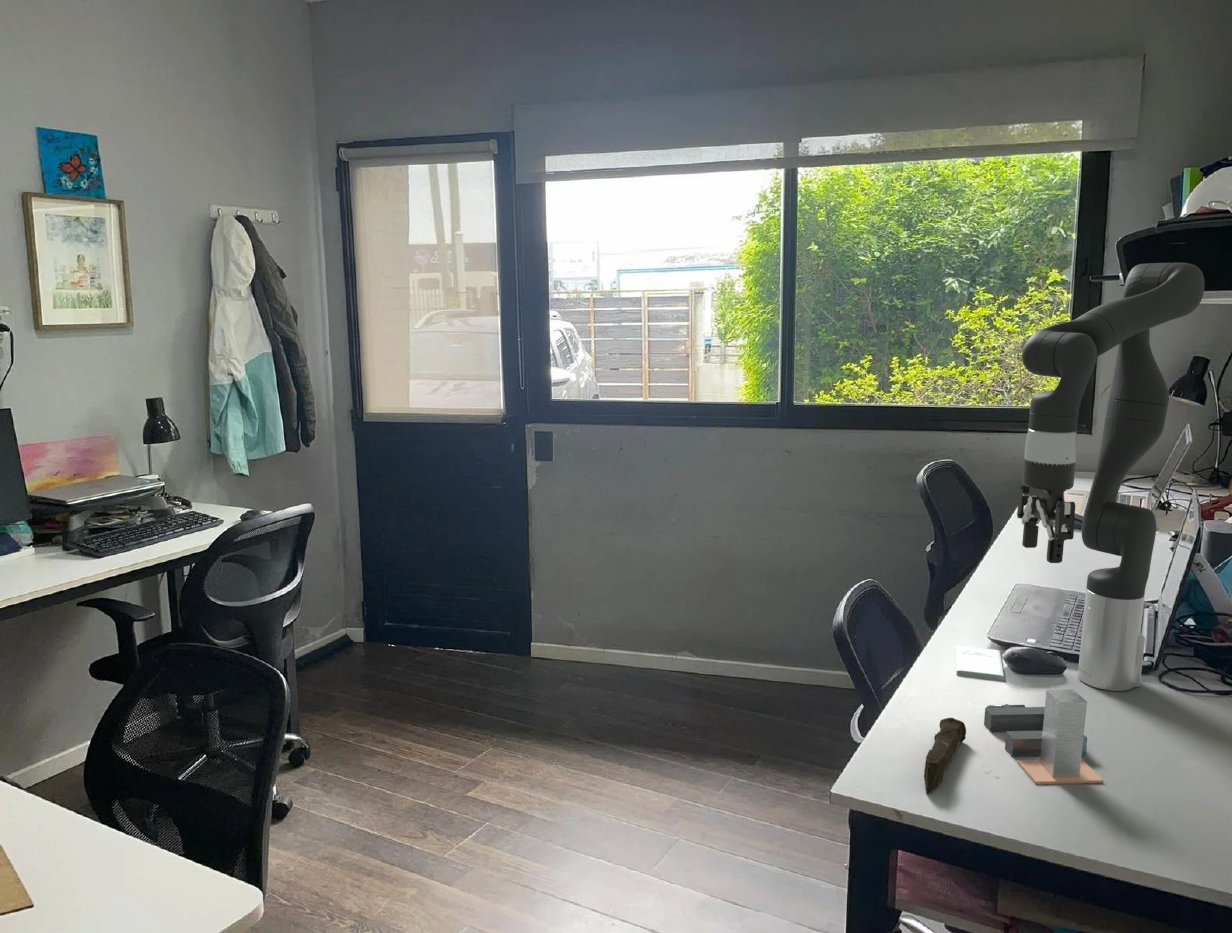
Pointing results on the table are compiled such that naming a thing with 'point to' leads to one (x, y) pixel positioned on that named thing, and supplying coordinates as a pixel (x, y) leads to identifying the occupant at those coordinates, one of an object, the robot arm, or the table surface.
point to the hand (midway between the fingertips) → (1041, 554)
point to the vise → (1019, 728)
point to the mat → (1043, 777)
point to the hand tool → (942, 751)
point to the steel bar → (1063, 733)
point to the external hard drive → (979, 663)
